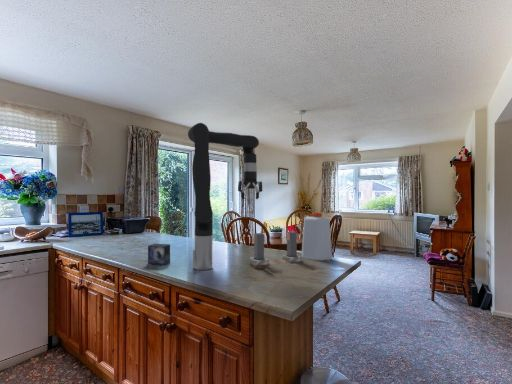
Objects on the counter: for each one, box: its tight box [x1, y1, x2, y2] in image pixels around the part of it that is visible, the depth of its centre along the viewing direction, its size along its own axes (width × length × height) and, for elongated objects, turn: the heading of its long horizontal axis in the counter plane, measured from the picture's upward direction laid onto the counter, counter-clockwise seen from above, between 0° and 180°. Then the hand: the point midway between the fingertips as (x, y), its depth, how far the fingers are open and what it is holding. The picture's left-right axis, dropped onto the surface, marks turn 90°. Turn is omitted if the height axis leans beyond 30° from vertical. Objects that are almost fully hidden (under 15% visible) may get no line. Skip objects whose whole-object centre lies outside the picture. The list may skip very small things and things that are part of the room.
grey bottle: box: [301, 211, 333, 261], centre depth 167 cm, size 15×15×28 cm
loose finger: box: [253, 232, 266, 260], centre depth 150 cm, size 5×4×16 cm
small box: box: [147, 243, 171, 266], centre depth 155 cm, size 11×6×10 cm, turn 76°
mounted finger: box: [285, 230, 298, 257], centre depth 157 cm, size 5×4×16 cm
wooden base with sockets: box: [248, 254, 303, 269], centre depth 154 cm, size 28×9×4 cm, turn 111°
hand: (250, 199), depth 161 cm, fingers open, 8 cm apart
